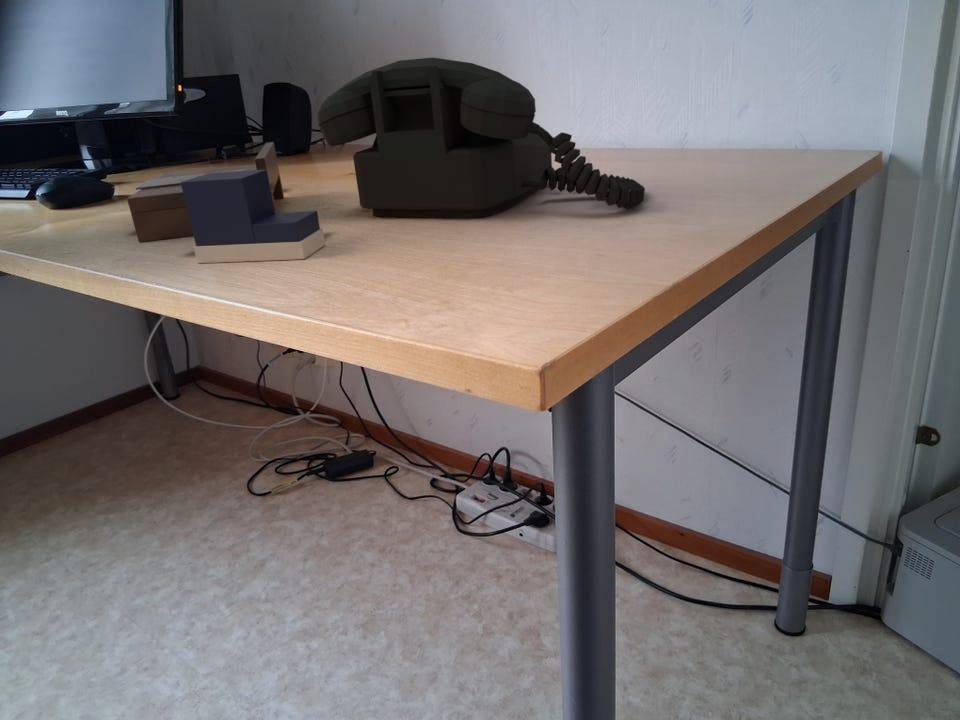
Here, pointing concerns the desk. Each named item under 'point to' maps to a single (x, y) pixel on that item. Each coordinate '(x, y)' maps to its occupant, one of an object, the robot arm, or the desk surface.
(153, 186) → the shoe shelf
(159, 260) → the desk surface
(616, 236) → the desk surface
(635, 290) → the desk surface
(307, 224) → the trainer
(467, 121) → the rotary telephone
